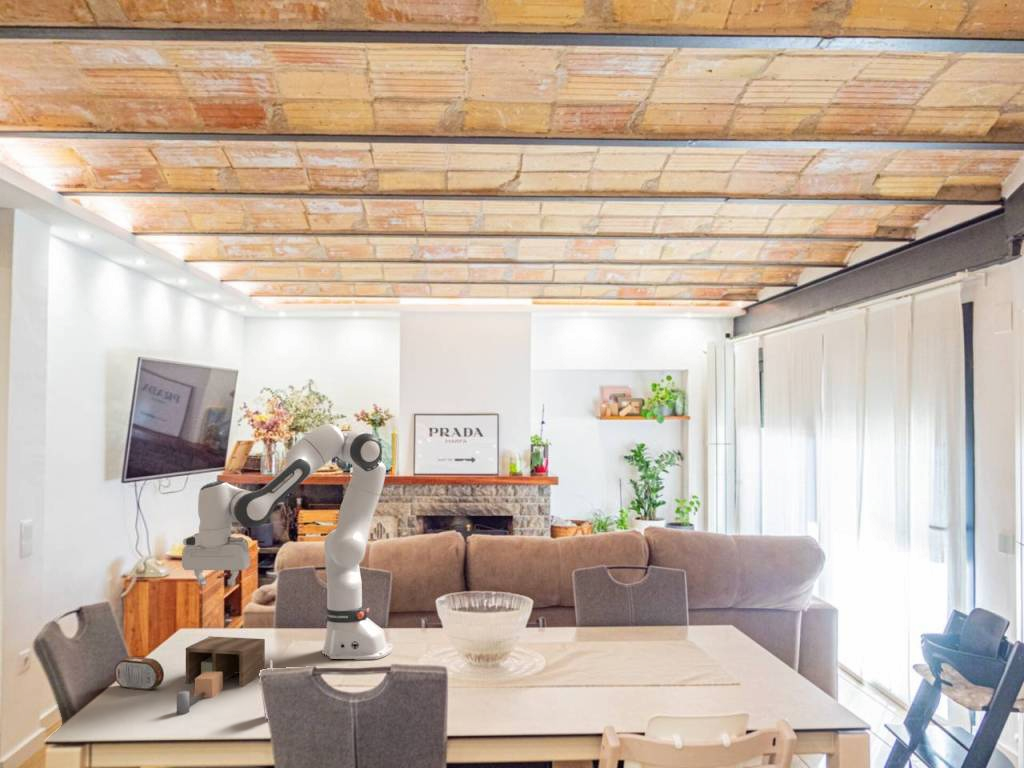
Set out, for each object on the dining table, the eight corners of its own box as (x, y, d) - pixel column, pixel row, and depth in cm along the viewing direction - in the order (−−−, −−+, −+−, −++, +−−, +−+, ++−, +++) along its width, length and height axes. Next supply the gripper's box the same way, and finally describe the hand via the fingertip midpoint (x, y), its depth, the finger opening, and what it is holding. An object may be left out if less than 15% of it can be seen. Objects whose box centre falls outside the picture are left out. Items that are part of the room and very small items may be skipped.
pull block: (222, 689, 218) (222, 671, 219) (189, 714, 200) (189, 695, 200) (205, 689, 219) (205, 671, 219) (170, 714, 201) (170, 694, 201)
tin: (164, 688, 220) (164, 658, 221) (156, 692, 217) (156, 661, 218) (120, 684, 224) (120, 654, 225) (112, 688, 221) (112, 658, 222)
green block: (228, 673, 233) (228, 656, 233) (216, 680, 227) (216, 663, 227) (213, 672, 234) (213, 655, 234) (201, 679, 228) (201, 662, 228)
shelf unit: (264, 672, 232) (264, 639, 233) (242, 686, 221) (242, 650, 221) (210, 669, 236) (210, 636, 237) (185, 683, 224) (185, 647, 225)
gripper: (253, 535, 229) (255, 582, 229) (190, 536, 233) (192, 582, 233) (242, 539, 223) (243, 587, 222) (177, 539, 227) (179, 587, 226)
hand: (217, 585), depth 228 cm, fingers open, 8 cm apart
